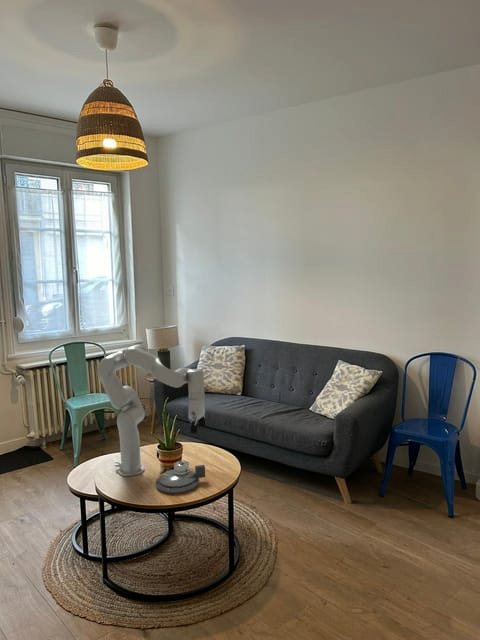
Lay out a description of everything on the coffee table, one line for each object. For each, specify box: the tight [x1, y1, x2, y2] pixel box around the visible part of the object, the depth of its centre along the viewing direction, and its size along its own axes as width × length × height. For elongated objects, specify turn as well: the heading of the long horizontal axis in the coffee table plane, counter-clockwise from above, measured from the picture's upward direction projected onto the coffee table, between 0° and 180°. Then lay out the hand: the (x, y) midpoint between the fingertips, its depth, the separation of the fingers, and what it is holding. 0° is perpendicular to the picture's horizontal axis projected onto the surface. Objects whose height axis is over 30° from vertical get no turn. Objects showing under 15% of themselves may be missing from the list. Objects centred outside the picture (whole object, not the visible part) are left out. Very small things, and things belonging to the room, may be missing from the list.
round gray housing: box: [158, 464, 206, 488], centre depth 221 cm, size 20×17×5 cm
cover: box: [174, 460, 191, 475], centre depth 227 cm, size 8×8×4 cm
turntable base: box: [155, 477, 200, 495], centre depth 222 cm, size 20×20×2 cm
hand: (198, 429), depth 229 cm, fingers open, 9 cm apart
